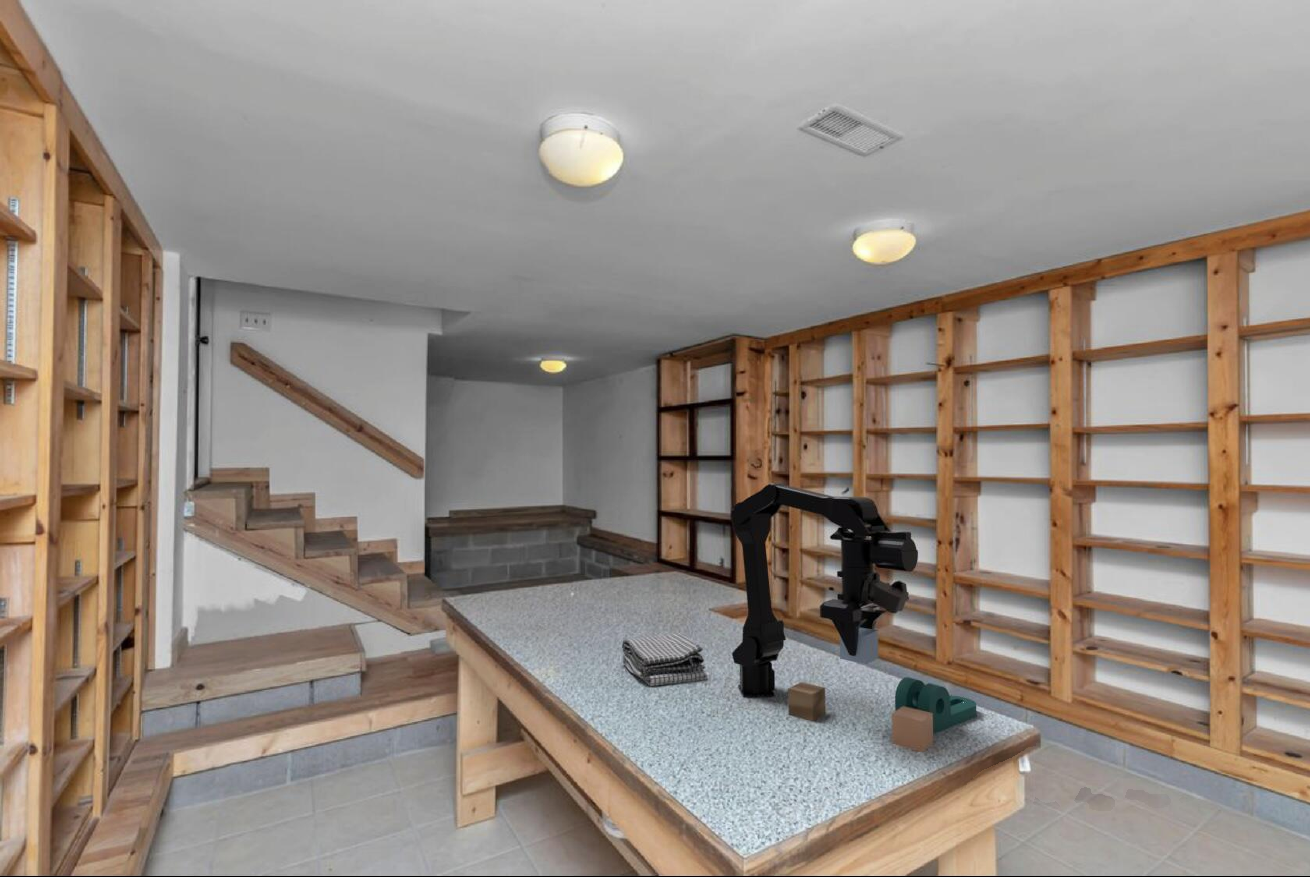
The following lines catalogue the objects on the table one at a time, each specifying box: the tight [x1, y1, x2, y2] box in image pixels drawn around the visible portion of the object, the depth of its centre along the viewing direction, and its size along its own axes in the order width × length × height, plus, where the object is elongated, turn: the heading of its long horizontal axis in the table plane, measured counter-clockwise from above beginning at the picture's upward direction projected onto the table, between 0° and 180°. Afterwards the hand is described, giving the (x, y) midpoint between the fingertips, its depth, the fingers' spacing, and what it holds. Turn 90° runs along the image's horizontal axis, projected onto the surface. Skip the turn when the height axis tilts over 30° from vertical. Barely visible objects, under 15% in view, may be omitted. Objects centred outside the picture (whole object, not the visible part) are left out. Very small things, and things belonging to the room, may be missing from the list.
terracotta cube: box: [891, 706, 934, 753], centre depth 108 cm, size 5×5×5 cm
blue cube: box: [839, 627, 879, 665], centre depth 117 cm, size 5×5×5 cm
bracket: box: [894, 676, 978, 735], centre depth 120 cm, size 18×7×8 cm, turn 125°
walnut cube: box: [787, 681, 826, 722], centre depth 122 cm, size 5×5×5 cm
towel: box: [621, 632, 709, 687], centre depth 148 cm, size 15×18×8 cm
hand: (858, 652), depth 117 cm, fingers closed on blue cube, 5 cm apart
